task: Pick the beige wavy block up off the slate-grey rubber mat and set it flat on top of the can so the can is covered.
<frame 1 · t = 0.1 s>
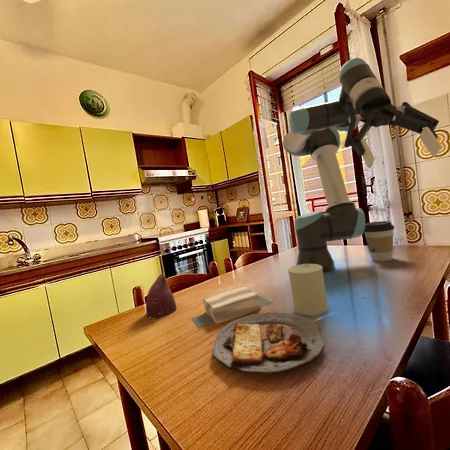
hand: (403, 157, 57), 36 cm above the table, tool tilted 35°, fingers open, 13 cm apart
mat: (232, 311, 78), on the table
coffee cup: (381, 259, 106), on the table
can: (310, 309, 72), on the table
beige wavy block: (232, 310, 78), resting on mat
food plate: (267, 346, 58), on the table
vegetable: (162, 313, 88), on the table
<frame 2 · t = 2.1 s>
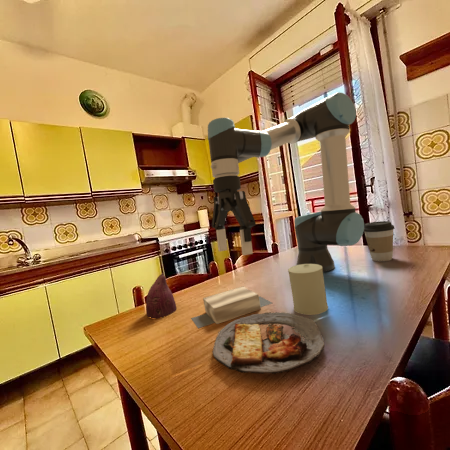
hand: (234, 252, 73), 19 cm above the table, tool pointing down, fingers open, 13 cm apart
nothing on the table moved.
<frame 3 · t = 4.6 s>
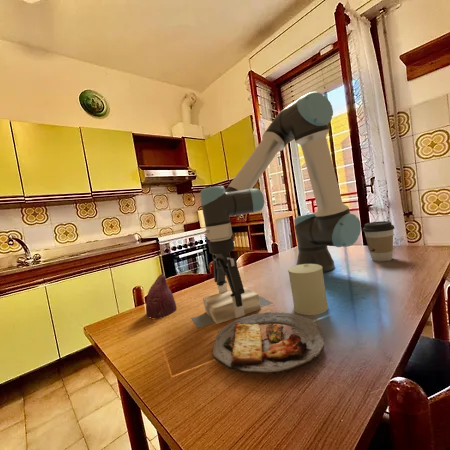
hand: (232, 310, 78), 0 cm above the table, tool pointing down, fingers closed on beige wavy block, 10 cm apart
beige wavy block: (232, 310, 78), resting on mat, touching gripper
everything else where it was.
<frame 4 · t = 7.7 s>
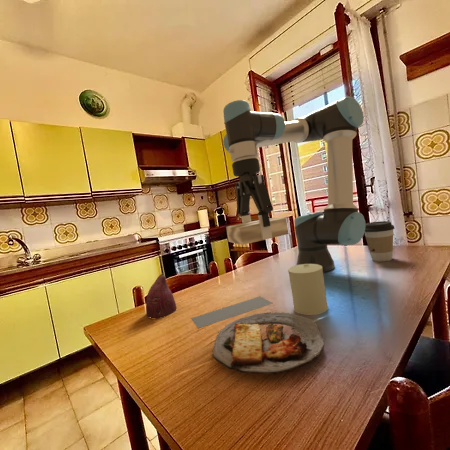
hand: (257, 237, 74), 21 cm above the table, tool pointing down, fingers closed on beige wavy block, 10 cm apart
beige wavy block: (257, 238, 74), point 21 cm above the table, touching gripper
everything else where it was.
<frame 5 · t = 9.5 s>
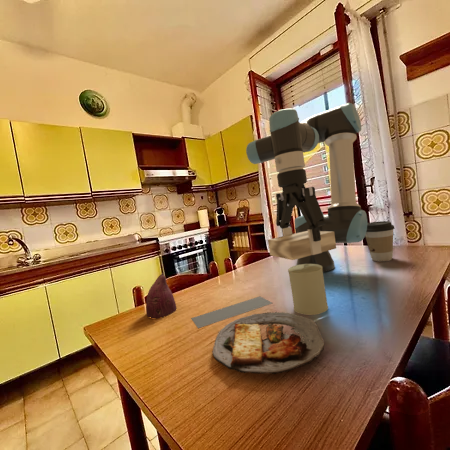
hand: (302, 251, 71), 16 cm above the table, tool pointing down, fingers closed on beige wavy block, 10 cm apart
beige wavy block: (302, 251, 71), point 16 cm above the table, touching gripper
everything else where it was.
when the fingers open (13 cm above the table, at t = 11.0 s): beige wavy block drops 1 cm, resting on can.
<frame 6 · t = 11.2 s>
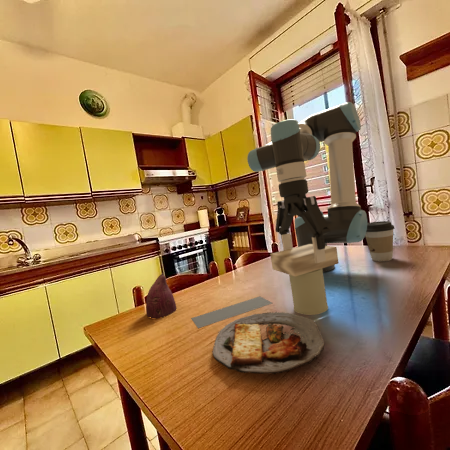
hand: (303, 258, 71), 14 cm above the table, tool pointing down, fingers open, 13 cm apart
can: (310, 309, 72), on the table, touching beige wavy block
beige wavy block: (304, 266, 71), point 12 cm above the table, touching can
everything else where it was.
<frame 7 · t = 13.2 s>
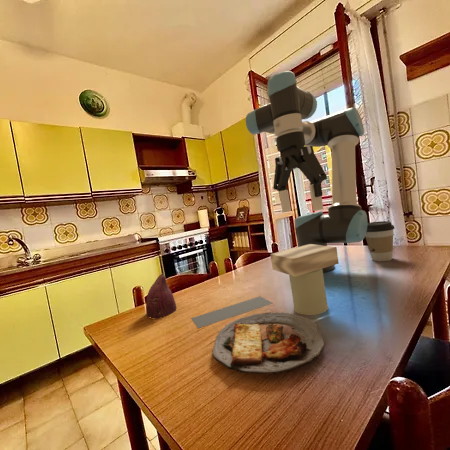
hand: (301, 211, 72), 27 cm above the table, tool pointing down, fingers open, 13 cm apart
nothing on the table moved.
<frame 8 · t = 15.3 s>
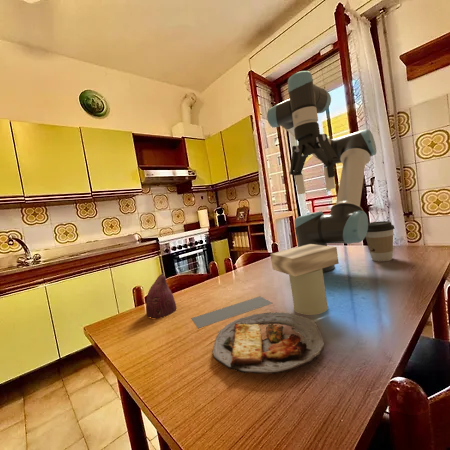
hand: (315, 191, 83), 32 cm above the table, tool pointing down, fingers open, 13 cm apart
nothing on the table moved.
at the end: beige wavy block 0.0 cm off-centre on the can, point 12.2 cm above the can's base; beige wavy block touching can; can tilted 0° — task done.
